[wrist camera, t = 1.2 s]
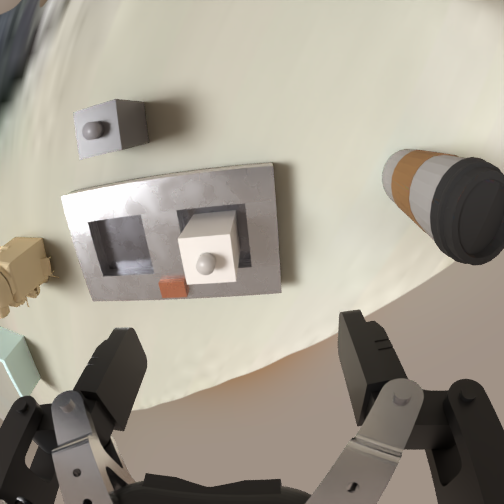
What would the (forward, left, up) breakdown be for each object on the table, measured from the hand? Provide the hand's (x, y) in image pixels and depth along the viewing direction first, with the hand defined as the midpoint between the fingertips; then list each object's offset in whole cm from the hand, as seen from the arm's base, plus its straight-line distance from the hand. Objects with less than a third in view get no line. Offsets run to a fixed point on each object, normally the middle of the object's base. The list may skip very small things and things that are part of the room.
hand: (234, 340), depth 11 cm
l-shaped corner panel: (+25, -52, -23) cm, 62 cm away
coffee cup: (-1, +18, -23) cm, 29 cm away
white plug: (+4, -4, -22) cm, 23 cm away
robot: (+6, -33, -23) cm, 41 cm away
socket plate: (+4, -9, -23) cm, 25 cm away
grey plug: (-9, -12, -23) cm, 27 cm away
